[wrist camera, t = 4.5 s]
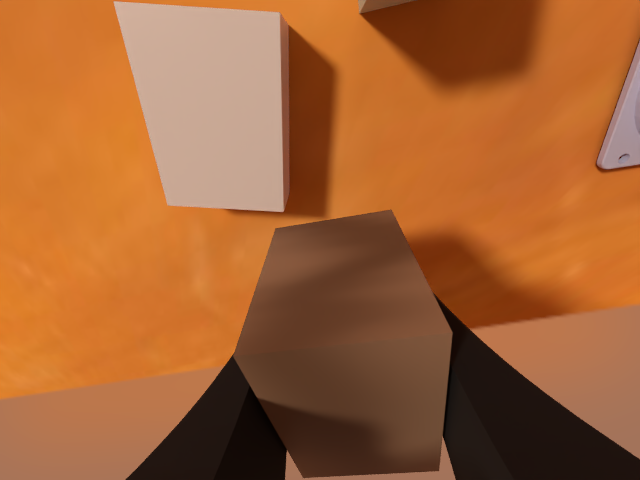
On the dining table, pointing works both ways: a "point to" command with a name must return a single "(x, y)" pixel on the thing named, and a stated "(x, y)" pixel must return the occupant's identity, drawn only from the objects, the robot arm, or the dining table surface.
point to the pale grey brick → (213, 101)
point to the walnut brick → (348, 349)
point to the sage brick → (378, 4)
